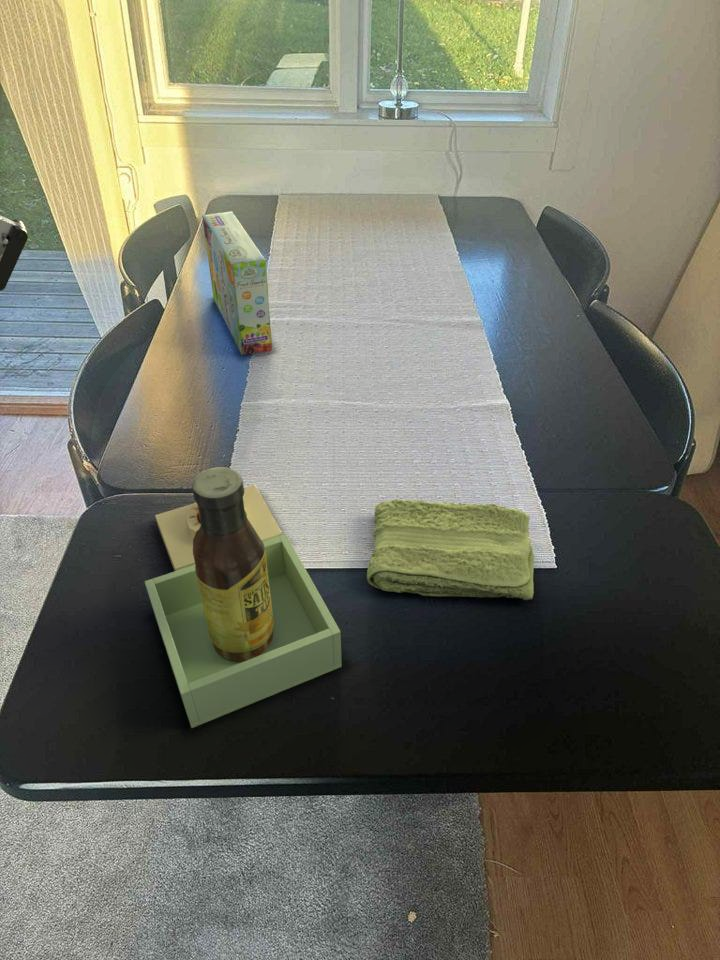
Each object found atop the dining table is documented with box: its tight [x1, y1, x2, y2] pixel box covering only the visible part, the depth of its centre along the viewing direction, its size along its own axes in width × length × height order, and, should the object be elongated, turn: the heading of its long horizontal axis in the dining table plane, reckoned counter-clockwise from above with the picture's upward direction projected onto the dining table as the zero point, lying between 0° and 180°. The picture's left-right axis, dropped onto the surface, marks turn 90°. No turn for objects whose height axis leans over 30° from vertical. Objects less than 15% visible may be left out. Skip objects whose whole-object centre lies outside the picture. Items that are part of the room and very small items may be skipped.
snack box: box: [201, 210, 273, 356], centre depth 112 cm, size 21×6×15 cm, turn 22°
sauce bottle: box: [191, 466, 274, 662], centre depth 62 cm, size 6×6×20 cm
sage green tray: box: [144, 533, 343, 729], centre depth 67 cm, size 15×14×6 cm
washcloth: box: [366, 499, 535, 601], centre depth 76 cm, size 13×18×3 cm
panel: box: [154, 484, 283, 572], centre depth 78 cm, size 12×9×4 cm
